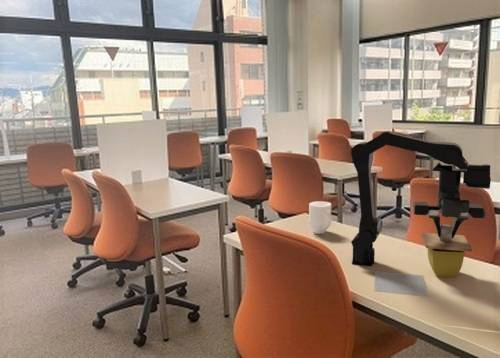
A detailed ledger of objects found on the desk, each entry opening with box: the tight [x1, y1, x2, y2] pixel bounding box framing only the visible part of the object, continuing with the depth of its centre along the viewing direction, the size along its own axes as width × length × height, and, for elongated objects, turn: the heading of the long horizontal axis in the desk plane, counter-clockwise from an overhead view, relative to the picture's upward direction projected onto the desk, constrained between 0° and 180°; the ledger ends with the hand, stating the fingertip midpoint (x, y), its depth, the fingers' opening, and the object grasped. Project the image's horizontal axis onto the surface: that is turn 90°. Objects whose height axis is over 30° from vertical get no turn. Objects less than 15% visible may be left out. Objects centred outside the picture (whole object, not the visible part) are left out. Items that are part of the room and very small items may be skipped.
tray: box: [374, 270, 429, 297], centre depth 120 cm, size 14×14×1 cm
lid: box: [421, 224, 473, 253], centre depth 123 cm, size 12×12×5 cm
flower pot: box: [426, 248, 466, 278], centre depth 125 cm, size 9×9×9 cm
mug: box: [308, 200, 333, 235], centre depth 167 cm, size 12×9×12 cm
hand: (445, 237), depth 123 cm, fingers closed on lid, 3 cm apart
